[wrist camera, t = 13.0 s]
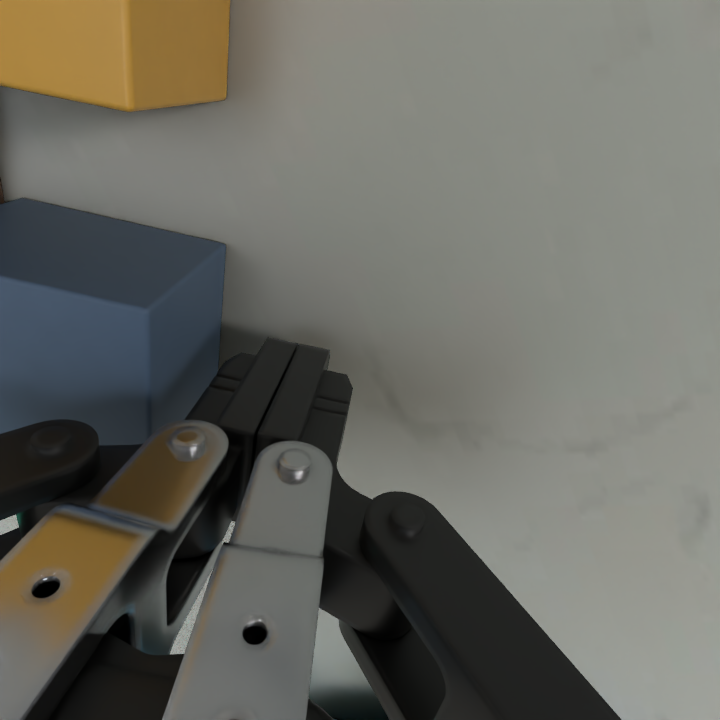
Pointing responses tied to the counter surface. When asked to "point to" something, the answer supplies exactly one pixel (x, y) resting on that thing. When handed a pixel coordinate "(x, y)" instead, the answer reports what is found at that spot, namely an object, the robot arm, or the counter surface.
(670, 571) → the counter surface
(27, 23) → the ochre block
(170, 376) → the slate block
